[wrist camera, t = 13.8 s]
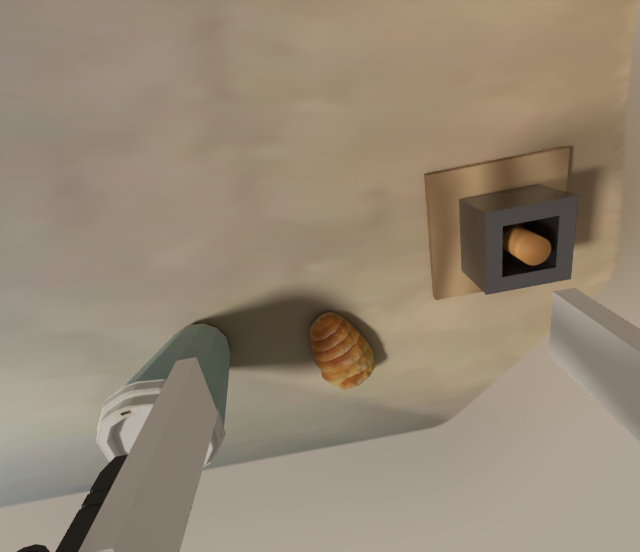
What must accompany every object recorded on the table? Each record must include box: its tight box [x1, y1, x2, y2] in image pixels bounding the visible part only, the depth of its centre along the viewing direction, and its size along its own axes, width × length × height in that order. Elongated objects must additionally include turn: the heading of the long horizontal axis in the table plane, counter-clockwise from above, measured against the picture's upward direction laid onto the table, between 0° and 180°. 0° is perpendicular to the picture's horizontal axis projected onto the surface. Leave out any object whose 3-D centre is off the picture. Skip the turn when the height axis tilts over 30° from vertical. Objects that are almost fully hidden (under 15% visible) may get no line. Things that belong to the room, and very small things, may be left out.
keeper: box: [424, 147, 570, 300], centre depth 37 cm, size 14×14×8 cm
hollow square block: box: [459, 184, 578, 295], centre depth 37 cm, size 8×8×6 cm
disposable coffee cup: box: [96, 324, 231, 468], centre depth 38 cm, size 11×11×15 cm
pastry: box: [309, 312, 375, 390], centre depth 44 cm, size 9×7×4 cm
